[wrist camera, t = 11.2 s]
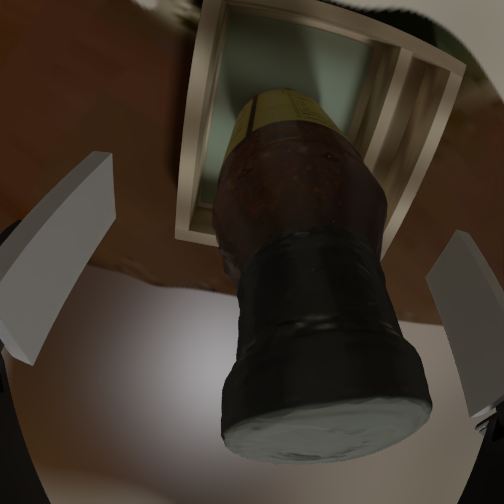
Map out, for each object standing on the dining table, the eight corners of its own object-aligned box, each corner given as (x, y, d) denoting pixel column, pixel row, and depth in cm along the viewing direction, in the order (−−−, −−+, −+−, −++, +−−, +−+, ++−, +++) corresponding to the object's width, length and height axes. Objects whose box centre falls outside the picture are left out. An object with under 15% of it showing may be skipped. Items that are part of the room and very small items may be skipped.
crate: (219, -9, 15) (207, -18, 12) (438, 57, 16) (466, 65, 13) (186, 210, 26) (174, 238, 23) (362, 245, 27) (372, 275, 24)
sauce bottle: (267, 180, 23) (251, 480, 8) (219, 113, 20) (73, 409, 5) (344, 141, 21) (467, 435, 5) (301, 66, 17) (487, 305, 2)
